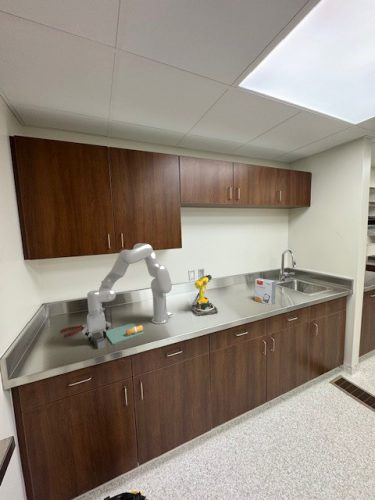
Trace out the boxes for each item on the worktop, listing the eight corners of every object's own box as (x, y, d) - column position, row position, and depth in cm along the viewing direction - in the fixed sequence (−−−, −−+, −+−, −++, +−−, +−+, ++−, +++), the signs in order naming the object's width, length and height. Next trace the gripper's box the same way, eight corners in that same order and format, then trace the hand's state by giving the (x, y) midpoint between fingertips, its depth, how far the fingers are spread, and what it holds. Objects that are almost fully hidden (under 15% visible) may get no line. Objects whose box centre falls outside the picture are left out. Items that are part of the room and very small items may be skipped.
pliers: (96, 327, 147) (96, 324, 147) (64, 338, 133) (64, 334, 133) (91, 323, 155) (90, 319, 155) (60, 333, 141) (59, 329, 141)
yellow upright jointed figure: (220, 313, 163) (219, 278, 161) (196, 316, 159) (195, 280, 156) (211, 305, 181) (210, 273, 179) (190, 308, 177) (189, 275, 174)
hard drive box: (254, 301, 188) (254, 279, 186) (258, 299, 193) (258, 277, 191) (271, 305, 176) (271, 282, 175) (275, 303, 181) (275, 280, 180)
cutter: (99, 337, 132) (99, 331, 131) (105, 346, 121) (105, 339, 121) (92, 340, 129) (91, 333, 129) (97, 349, 119) (97, 342, 118)
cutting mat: (133, 323, 150) (132, 317, 150) (144, 333, 135) (143, 326, 134) (103, 332, 138) (103, 325, 138) (112, 344, 123) (112, 337, 123)
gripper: (108, 306, 134) (110, 333, 135) (78, 313, 123) (80, 342, 125) (112, 309, 128) (114, 337, 129) (80, 317, 117) (83, 347, 119)
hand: (97, 339), depth 127 cm, fingers open, 7 cm apart
